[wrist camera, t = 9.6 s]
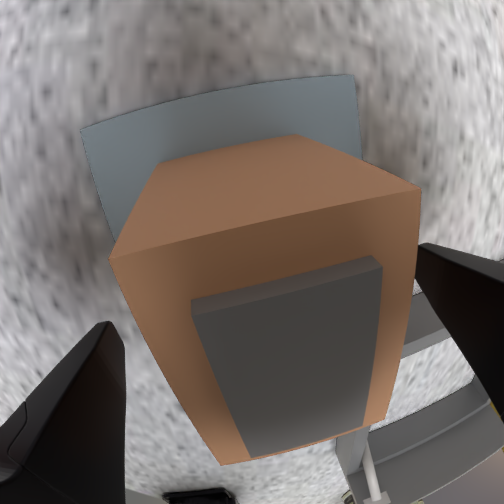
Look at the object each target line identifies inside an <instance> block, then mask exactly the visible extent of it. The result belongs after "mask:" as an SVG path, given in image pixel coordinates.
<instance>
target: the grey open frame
mask: <svg viewBox="0 0 504 504" xmlns="http://www.w3.org/2000/svg"><path fill="white" fill-rule="evenodd" d="M499 262H500V263H504V259H503V260H501V261H499ZM449 337H451V335H450V334H449V332H448V331H447V329H446V328H445V327H444V325H443V324H442V322H441V321H440V319H439V318H438V316H437V315H436V313H435V312H434V310H433V308H432V307H431V305H430V303H429V301H428V300H427V298H426V296H425V294H424V293H420V294H417V295H414V296H412V299H411V306H410V312H409V318H408V324H407V329H406V334H405V340H404V344H403V349H402V354H401V359H402V358H405V357H407V356H409V355H412V354H414V353H417V352H419V351H421V350H423V349H426V348H428V347H430V346H432V345H434V344H437V343H439V342H441V341H443V340H445V339H447V338H449ZM490 402H491V400H490V398H489V396H488V394H487V393H486V391H485V389H484V388H483V386H482V384H481V383H480V381H479V379H478V378H477V376H476V374H475V376H474V378H473V380H472V383H470V384H469V385H467V386H465V387H463V388H462V389H460V390H458V391H457V392H455V393H453V394H451V395H449V396H447V397H446V398H444V399H442V400H440V401H438V402H436V403H434V404H432V405H430V406H428V407H426V408H424V409H422V410H420V411H418V412H416V413H414V414H412V415H410V416H408V417H405V418H403V419H401V420H399V421H396V422H394V423H392V424H389V425H387V426H385V427H382V428H380V429H377V430H375V431H372V432H370V433H369V430H370V426H371V425H369V426H367V427H364V428H361V429H359V430H356V431H353V432H350V433H348V434H345V435H342V436H339V437H337V442H336V455H337V458H338V460H339V463H340V465H341V468H342V470H343V473H344V475H345V478H346V481H347V483H348V486H349V488H350V491H351V493H352V496H353V499H354V501H355V504H412V503H414V502H416V501H418V500H420V499H422V498H424V497H426V496H428V495H430V494H432V493H434V492H435V491H437V490H439V489H441V488H442V487H444V486H446V485H448V484H449V483H451V482H452V481H454V480H456V479H457V478H459V477H461V476H462V475H464V474H465V473H467V472H468V471H470V470H472V469H473V468H474V467H476V466H478V465H479V464H480V463H482V462H483V461H485V460H486V459H487V458H489V457H490V456H492V455H493V454H494V453H496V452H497V451H498V450H500V449H501V448H502V447H504V424H503V422H502V421H501V419H500V418H499V416H498V415H497V414H496V412H495V411H494V409H493V408H492V407H491V405H490Z"/></svg>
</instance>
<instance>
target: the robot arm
mask: <svg viewBox="0 0 504 504" xmlns="http://www.w3.org/2000/svg"><path fill="white" fill-rule="evenodd" d="M415 279H416V281H417V283H418V284H419V286H420V288H421V289H422V291H423V293H424V294H425V296H426V298H427V300H428V301H429V303H430V305H431V307H432V308H433V310H434V312H435V313H436V315H437V316H438V318H439V319H440V321H441V322H442V324H443V325H444V327H445V328H446V329H447V331H448V332H449V334H450V335H451V337H452V338H453V340H454V341H455V343H456V344H457V346H458V347H459V349H460V350H461V352H462V354H463V355H464V357H465V358H466V360H467V361H468V363H469V365H470V366H471V368H472V369H473V371H474V373H475V374H476V376H477V378H478V379H479V381H480V383H481V384H482V386H483V388H484V389H485V391H486V393H487V394H488V396H489V398H490V400H491V401H492V403H493V405H494V407H495V409H496V410H497V412H498V414H499V416H501V417H500V418H501V420H502V422H503V424H504V263H500V262H497V261H494V260H490V259H487V258H483V257H479V256H476V255H472V254H469V253H465V252H461V251H458V250H454V249H450V248H446V247H442V246H439V245H435V244H431V243H423V244H420V245H418V250H417V260H416V269H415ZM25 401H26V402H25ZM25 401H24V402H23V403H22V404H21V405H20V406H19V407H18V408H17V410H16V411H15V412H14V413H13V414H12V415H11V416H10V417H9V418H8V420H7V421H6V422H5V423H4V424H3V425H2V426H1V427H0V504H126V503H125V415H126V374H125V348H124V344H123V341H122V340H121V338H120V336H119V334H118V332H117V330H116V328H115V327H114V325H113V323H112V322H110V321H105V322H100V323H97V324H96V325H95V326H94V327H93V328H92V329H91V330H90V331H89V332H88V333H87V334H86V335H85V336H84V337H83V338H82V339H81V340H80V341H79V342H78V343H77V344H76V345H75V346H74V347H73V348H72V350H71V351H70V352H69V353H68V354H67V355H66V356H65V357H64V358H63V359H62V360H61V361H60V362H59V363H58V364H57V365H56V366H55V368H54V369H53V370H52V371H51V372H50V373H49V374H48V375H47V376H46V377H45V378H44V379H43V381H42V382H41V383H40V384H39V385H38V386H37V387H36V388H35V389H34V390H33V392H32V393H31V394H30V395H29V396H28V397H27V398H26V400H25ZM162 499H163V500H165V501H166V502H167V503H169V504H240V503H239V502H238V501H237V500H236V499H235V498H234V497H232V496H231V495H230V494H229V493H228V492H227V491H226V490H225V489H215V490H207V491H199V492H189V493H177V494H164V495H162Z"/></svg>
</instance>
